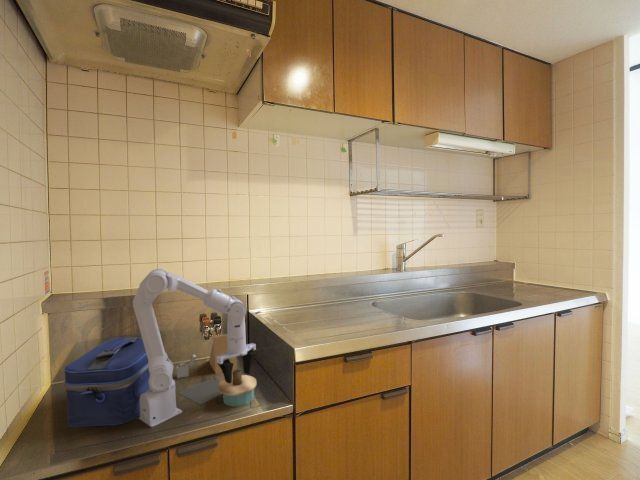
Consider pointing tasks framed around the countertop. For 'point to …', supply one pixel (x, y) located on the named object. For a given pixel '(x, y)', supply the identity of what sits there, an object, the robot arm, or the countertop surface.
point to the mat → (202, 392)
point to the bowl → (238, 399)
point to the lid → (237, 384)
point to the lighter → (185, 368)
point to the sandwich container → (219, 352)
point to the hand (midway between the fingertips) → (238, 377)
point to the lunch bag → (107, 383)
